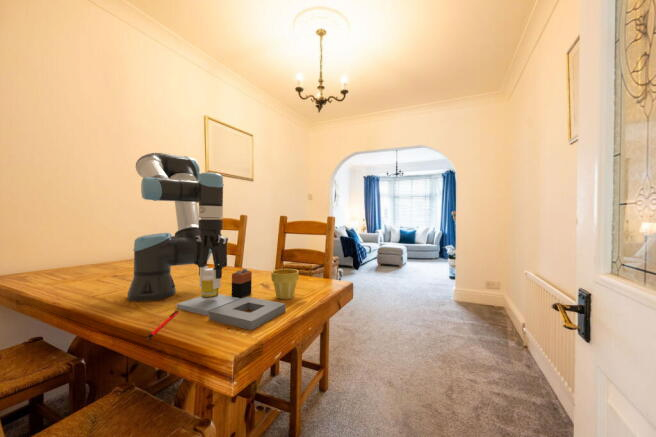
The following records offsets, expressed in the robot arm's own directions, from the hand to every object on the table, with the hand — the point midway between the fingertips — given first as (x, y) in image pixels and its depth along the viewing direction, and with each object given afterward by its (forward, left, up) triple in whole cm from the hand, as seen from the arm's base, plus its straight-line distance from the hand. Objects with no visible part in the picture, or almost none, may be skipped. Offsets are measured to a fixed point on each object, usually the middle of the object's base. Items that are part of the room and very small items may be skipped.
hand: (210, 286), depth 90 cm
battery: (+2, +13, -7) cm, 15 cm away
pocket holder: (+18, -1, -6) cm, 19 cm away
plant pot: (+17, +20, -7) cm, 27 cm away
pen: (+1, -17, -7) cm, 18 cm away
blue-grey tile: (0, 0, -6) cm, 6 cm away
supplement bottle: (0, 0, -4) cm, 4 cm away
